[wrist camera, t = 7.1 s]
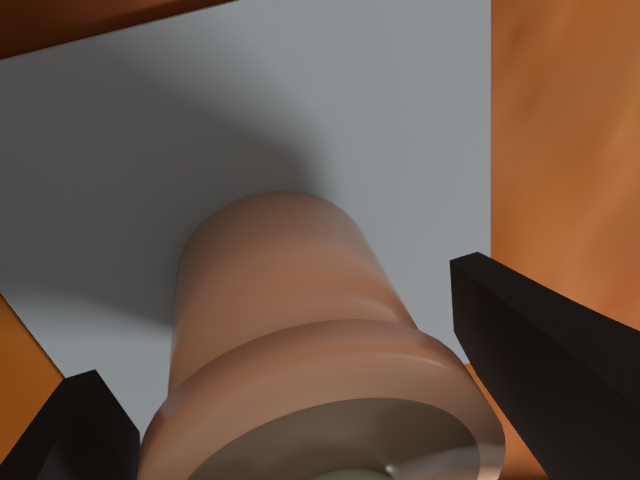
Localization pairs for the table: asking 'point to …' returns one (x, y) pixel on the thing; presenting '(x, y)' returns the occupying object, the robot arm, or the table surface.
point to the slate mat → (236, 161)
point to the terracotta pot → (307, 361)
